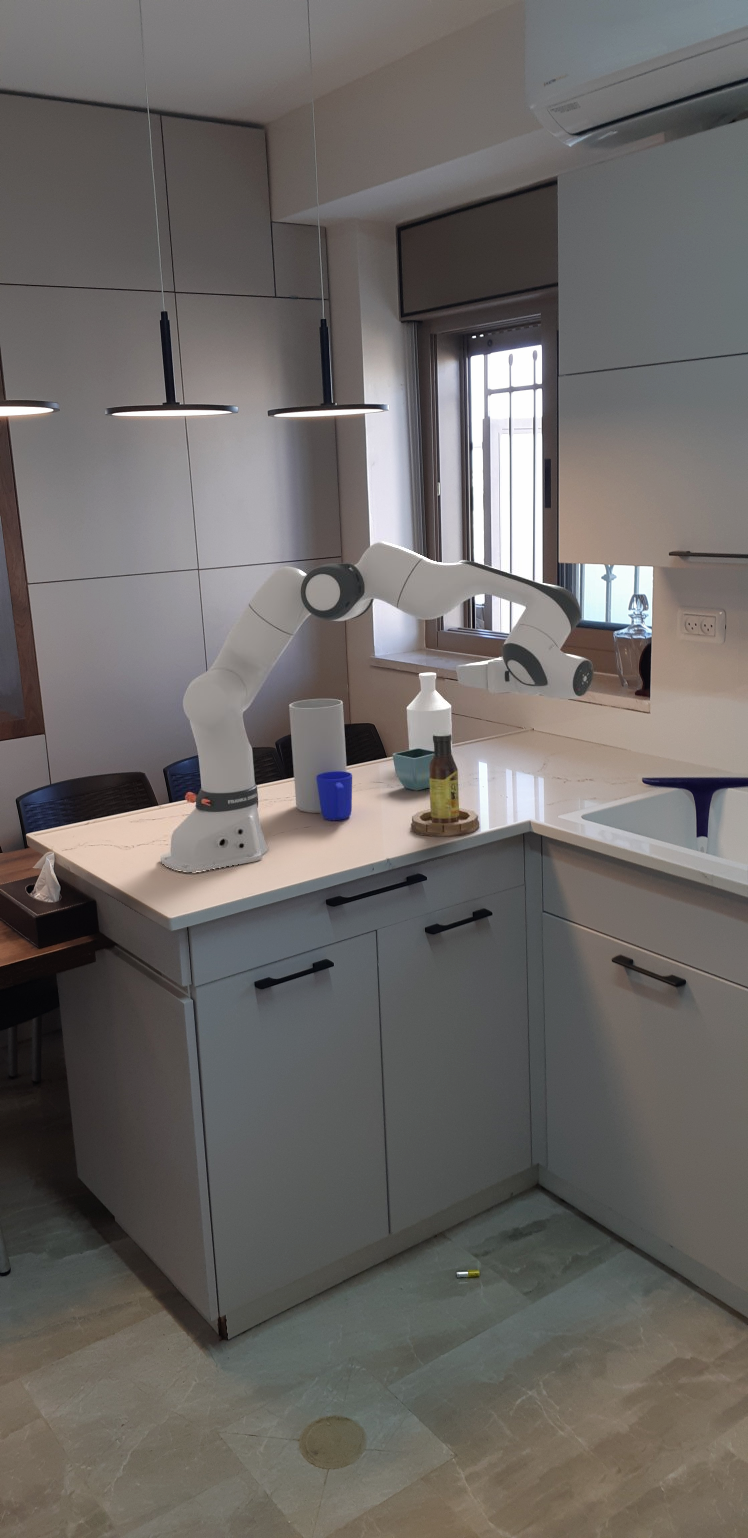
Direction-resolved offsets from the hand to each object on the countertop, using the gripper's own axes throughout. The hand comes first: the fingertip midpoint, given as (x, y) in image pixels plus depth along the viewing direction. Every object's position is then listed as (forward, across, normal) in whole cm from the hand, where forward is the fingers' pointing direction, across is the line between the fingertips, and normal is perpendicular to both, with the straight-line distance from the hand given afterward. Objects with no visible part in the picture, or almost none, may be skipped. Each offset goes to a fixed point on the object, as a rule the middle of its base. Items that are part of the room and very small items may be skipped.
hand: (475, 666), depth 240 cm
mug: (+32, +14, +36) cm, 50 cm away
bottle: (+55, -35, +36) cm, 75 cm away
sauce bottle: (+9, +2, +35) cm, 37 cm away
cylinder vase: (+44, +10, +36) cm, 58 cm away
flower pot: (+40, -17, +36) cm, 57 cm away
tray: (+9, +2, +36) cm, 37 cm away
